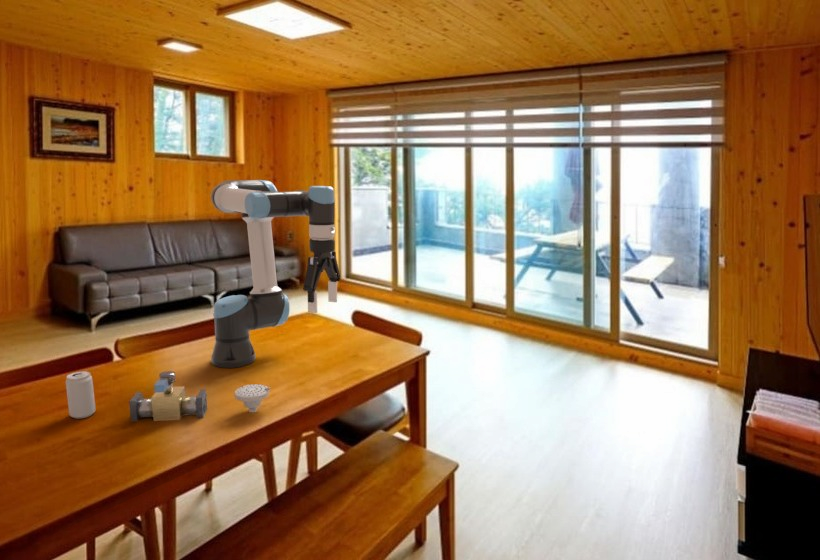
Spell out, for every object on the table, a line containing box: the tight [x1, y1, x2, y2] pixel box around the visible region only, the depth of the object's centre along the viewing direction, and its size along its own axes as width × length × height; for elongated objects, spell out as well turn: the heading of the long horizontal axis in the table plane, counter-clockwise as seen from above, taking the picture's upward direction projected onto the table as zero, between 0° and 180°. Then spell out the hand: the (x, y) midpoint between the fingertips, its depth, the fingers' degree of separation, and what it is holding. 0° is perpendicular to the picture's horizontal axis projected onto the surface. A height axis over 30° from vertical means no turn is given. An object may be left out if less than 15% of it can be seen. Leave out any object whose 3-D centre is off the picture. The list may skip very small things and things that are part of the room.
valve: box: [151, 383, 186, 422], centre depth 155 cm, size 7×7×10 cm
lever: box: [154, 370, 176, 393], centre depth 151 cm, size 10×4×2 cm, turn 9°
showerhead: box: [234, 383, 271, 413], centre depth 159 cm, size 9×7×10 cm
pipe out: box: [128, 391, 153, 423], centre depth 154 cm, size 6×6×6 cm
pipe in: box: [180, 388, 208, 419], centre depth 157 cm, size 6×6×6 cm
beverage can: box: [65, 371, 97, 420], centre depth 154 cm, size 6×6×12 cm
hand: (323, 307), depth 169 cm, fingers open, 13 cm apart
